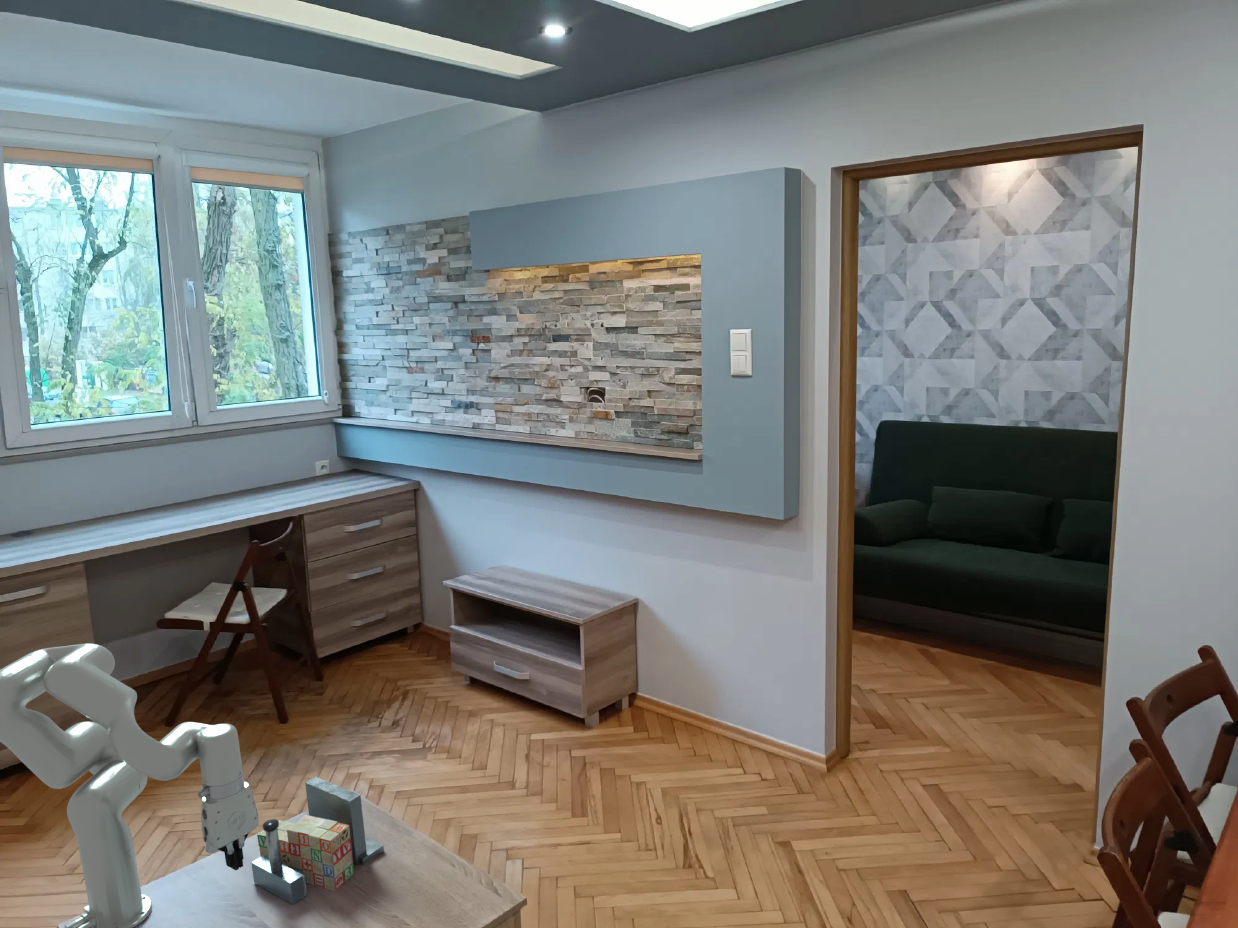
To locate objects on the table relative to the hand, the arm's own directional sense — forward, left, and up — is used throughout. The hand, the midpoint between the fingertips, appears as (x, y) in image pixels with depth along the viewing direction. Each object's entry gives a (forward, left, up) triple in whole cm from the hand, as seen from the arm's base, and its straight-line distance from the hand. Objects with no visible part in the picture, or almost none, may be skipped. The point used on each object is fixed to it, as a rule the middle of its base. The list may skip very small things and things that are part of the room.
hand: (235, 865), depth 184 cm
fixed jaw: (+27, 0, -11) cm, 29 cm away
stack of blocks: (+16, 0, -12) cm, 20 cm away
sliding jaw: (+9, 0, -11) cm, 14 cm away
